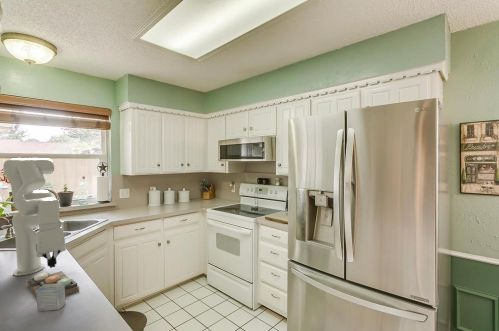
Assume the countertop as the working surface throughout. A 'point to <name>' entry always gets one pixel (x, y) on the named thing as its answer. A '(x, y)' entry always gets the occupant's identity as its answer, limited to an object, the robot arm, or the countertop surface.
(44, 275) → the cream button
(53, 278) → the terracotta button
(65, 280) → the sage button
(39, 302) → the medicine box
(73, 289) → the button panel
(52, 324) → the countertop surface
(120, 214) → the countertop surface
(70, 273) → the countertop surface
